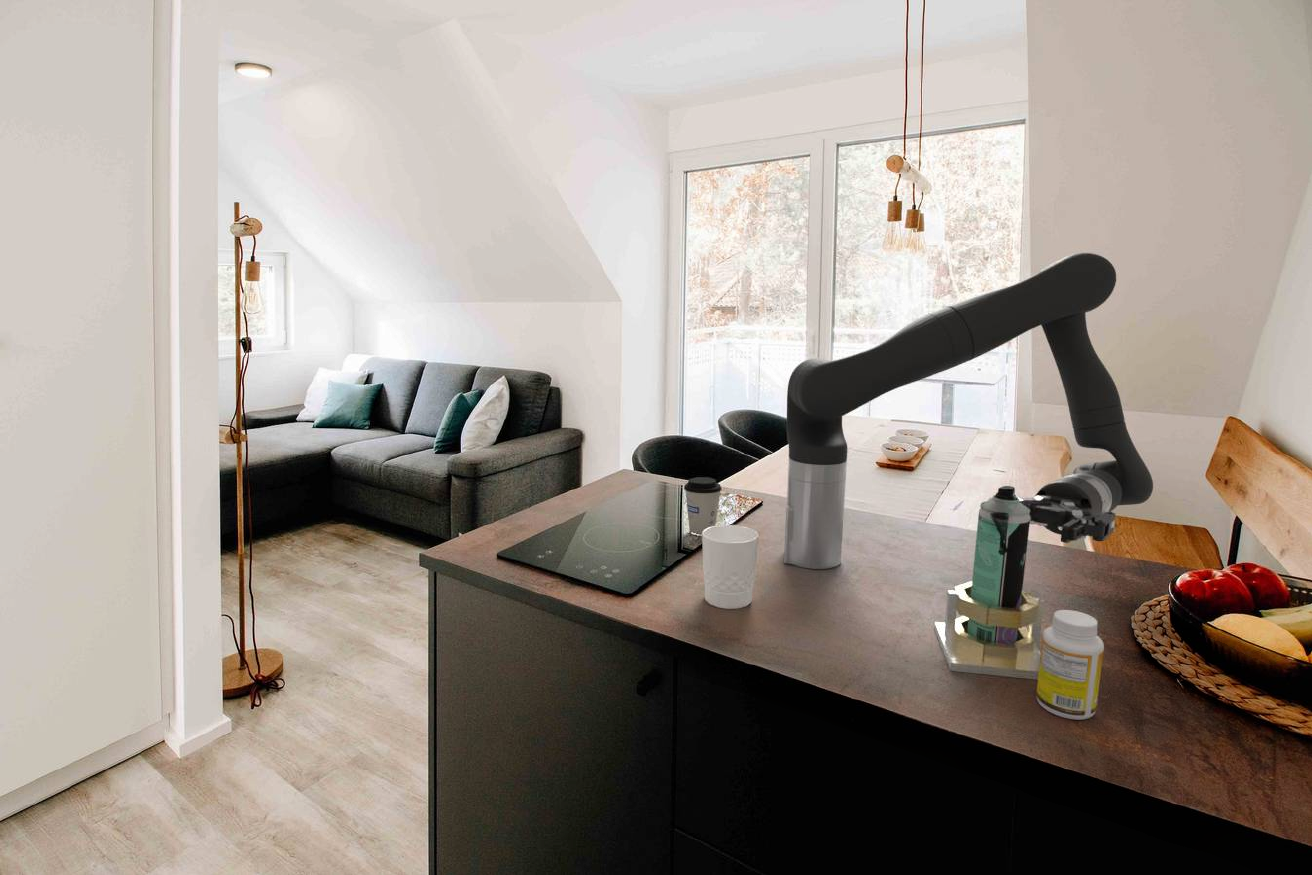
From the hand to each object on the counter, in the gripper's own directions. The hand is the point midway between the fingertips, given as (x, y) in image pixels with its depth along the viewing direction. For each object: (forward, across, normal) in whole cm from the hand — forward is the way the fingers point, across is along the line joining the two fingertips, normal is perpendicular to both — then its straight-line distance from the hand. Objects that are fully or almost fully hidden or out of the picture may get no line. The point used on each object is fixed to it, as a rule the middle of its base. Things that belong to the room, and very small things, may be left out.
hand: (1027, 526), depth 89 cm
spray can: (+8, 0, +14) cm, 16 cm away
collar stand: (+8, 0, +14) cm, 17 cm away
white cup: (+20, -32, +15) cm, 41 cm away
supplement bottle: (+14, +10, +15) cm, 23 cm away
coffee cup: (+2, -56, +15) cm, 57 cm away
